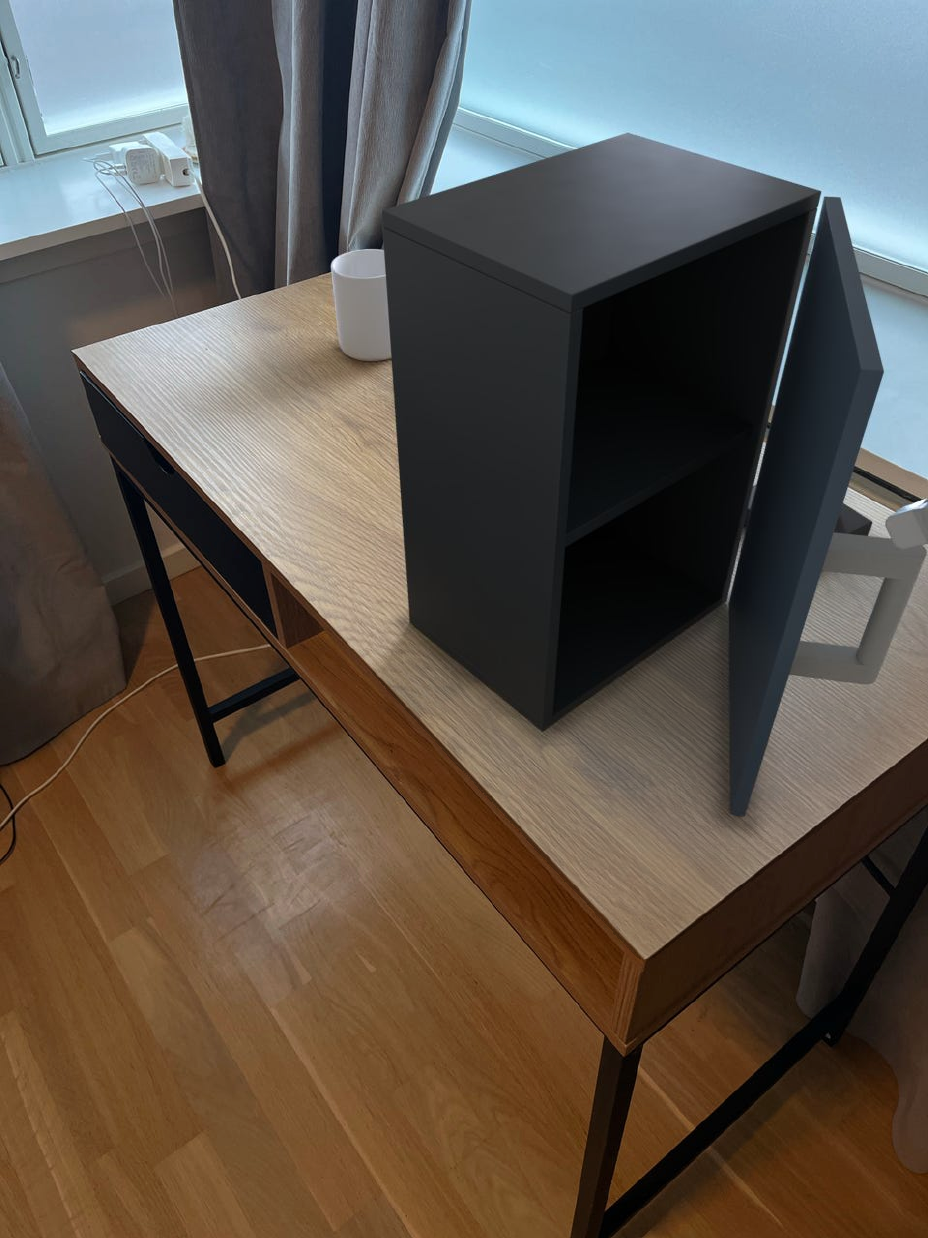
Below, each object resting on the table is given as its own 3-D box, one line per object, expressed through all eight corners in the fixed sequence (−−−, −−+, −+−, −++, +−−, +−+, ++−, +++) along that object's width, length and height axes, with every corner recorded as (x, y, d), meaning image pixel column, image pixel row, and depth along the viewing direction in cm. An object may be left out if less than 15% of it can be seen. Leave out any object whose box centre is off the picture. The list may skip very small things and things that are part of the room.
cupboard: (726, 601, 83) (822, 190, 59) (542, 732, 72) (571, 295, 49) (590, 517, 92) (627, 131, 68) (409, 622, 81) (380, 209, 58)
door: (810, 613, 81) (940, 202, 58) (832, 829, 65) (1022, 382, 42) (728, 603, 82) (823, 195, 59) (729, 814, 66) (861, 369, 43)
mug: (313, 331, 120) (303, 248, 113) (371, 313, 124) (365, 233, 117) (360, 369, 113) (352, 284, 106) (420, 350, 116) (416, 266, 109)
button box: (866, 540, 88) (878, 505, 86) (804, 571, 85) (815, 535, 83) (786, 487, 95) (795, 452, 92) (725, 514, 92) (733, 479, 89)
